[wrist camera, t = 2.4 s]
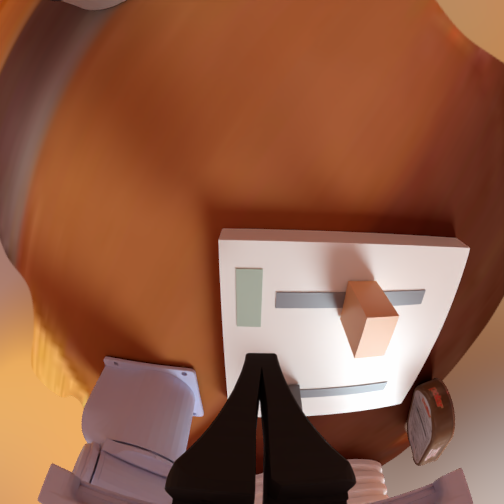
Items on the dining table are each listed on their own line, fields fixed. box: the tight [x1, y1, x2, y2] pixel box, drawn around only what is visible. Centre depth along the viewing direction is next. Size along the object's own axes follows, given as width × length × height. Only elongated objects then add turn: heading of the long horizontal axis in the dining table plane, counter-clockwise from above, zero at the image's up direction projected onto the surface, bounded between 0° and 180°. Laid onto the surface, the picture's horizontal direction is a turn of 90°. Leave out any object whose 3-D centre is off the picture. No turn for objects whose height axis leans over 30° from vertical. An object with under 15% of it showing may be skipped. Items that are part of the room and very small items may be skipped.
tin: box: [407, 378, 455, 466], centre depth 23 cm, size 15×3×8 cm, turn 18°
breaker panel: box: [218, 228, 470, 417], centre depth 21 cm, size 18×18×2 cm
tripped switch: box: [340, 281, 399, 358], centre depth 16 cm, size 2×3×4 cm, turn 179°
